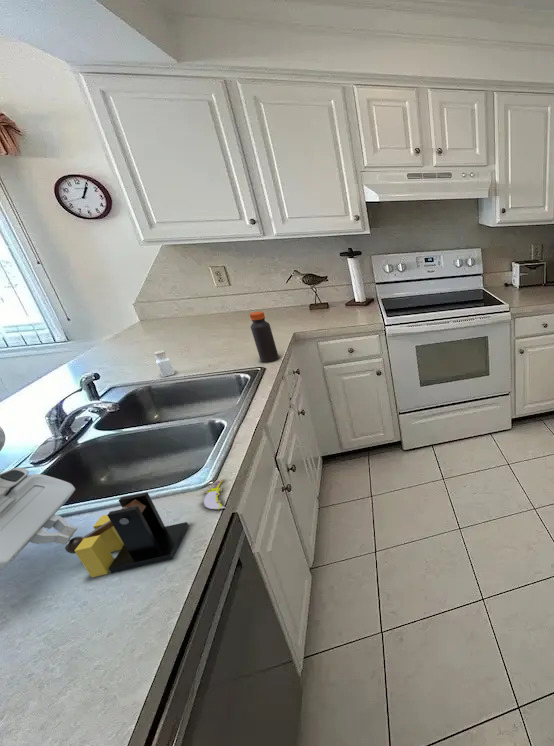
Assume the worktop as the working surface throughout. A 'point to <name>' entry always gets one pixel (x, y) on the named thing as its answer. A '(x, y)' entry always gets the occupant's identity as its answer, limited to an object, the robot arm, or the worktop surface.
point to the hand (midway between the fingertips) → (72, 536)
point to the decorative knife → (213, 497)
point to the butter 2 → (95, 556)
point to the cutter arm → (99, 529)
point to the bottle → (263, 337)
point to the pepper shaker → (164, 363)
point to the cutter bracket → (143, 534)
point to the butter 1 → (109, 535)
